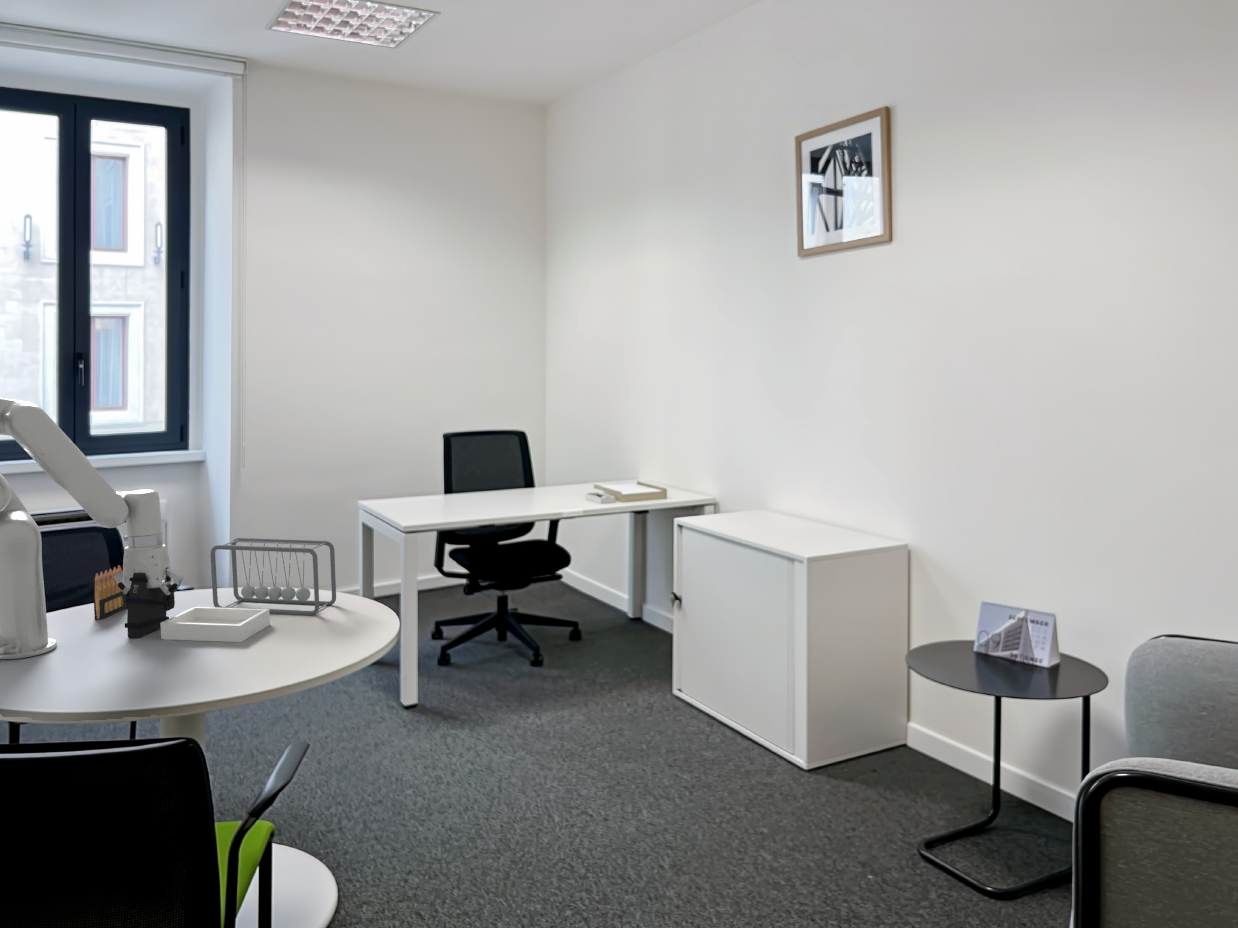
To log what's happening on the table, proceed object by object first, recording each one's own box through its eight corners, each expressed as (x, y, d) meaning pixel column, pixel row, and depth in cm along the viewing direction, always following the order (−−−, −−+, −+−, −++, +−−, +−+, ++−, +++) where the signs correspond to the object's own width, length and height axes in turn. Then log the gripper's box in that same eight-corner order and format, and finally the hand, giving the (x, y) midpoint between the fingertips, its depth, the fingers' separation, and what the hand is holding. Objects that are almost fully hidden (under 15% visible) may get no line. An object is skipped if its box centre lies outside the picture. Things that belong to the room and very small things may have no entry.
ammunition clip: (101, 619, 232) (97, 574, 231) (94, 619, 233) (91, 573, 231) (127, 608, 243) (124, 564, 241) (121, 608, 243) (118, 564, 242)
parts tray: (240, 642, 214) (240, 625, 214) (161, 639, 217) (160, 622, 216) (270, 624, 228) (269, 609, 228) (195, 621, 230) (194, 606, 230)
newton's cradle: (337, 605, 246) (334, 540, 244) (318, 616, 236) (315, 549, 234) (235, 600, 251) (232, 537, 249) (212, 610, 241) (209, 545, 238)
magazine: (116, 635, 214) (130, 572, 219) (150, 642, 227) (164, 583, 231) (130, 635, 214) (145, 573, 218) (164, 643, 226) (177, 583, 231)
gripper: (102, 543, 218) (108, 612, 221) (169, 544, 216) (174, 614, 219) (122, 537, 226) (128, 603, 228) (187, 537, 224) (192, 605, 226)
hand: (150, 608), depth 223 cm, fingers open, 9 cm apart
